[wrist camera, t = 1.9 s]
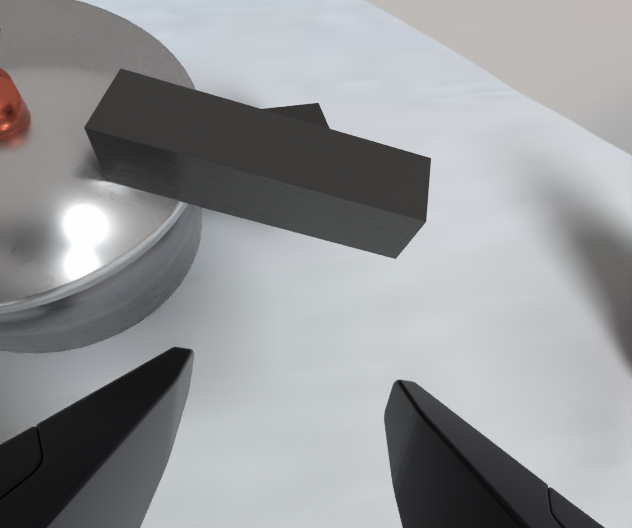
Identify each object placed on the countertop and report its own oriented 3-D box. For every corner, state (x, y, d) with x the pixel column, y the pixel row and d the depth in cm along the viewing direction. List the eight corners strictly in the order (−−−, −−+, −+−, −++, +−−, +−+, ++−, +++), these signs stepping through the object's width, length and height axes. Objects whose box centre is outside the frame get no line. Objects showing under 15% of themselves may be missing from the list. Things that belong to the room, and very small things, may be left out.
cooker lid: (-386, 250, 13) (-610, 172, 10) (-74, -27, 20) (-136, -128, 17) (369, 422, 15) (411, 410, 12) (406, 115, 23) (439, 52, 19)
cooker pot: (-195, 417, 18) (-421, 391, 12) (-164, 145, 23) (-306, 28, 17) (348, 279, 26) (386, 220, 19) (277, 100, 31) (290, 8, 25)
